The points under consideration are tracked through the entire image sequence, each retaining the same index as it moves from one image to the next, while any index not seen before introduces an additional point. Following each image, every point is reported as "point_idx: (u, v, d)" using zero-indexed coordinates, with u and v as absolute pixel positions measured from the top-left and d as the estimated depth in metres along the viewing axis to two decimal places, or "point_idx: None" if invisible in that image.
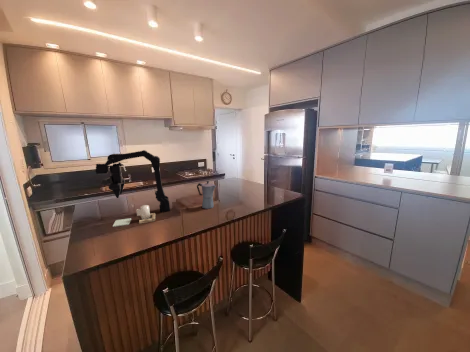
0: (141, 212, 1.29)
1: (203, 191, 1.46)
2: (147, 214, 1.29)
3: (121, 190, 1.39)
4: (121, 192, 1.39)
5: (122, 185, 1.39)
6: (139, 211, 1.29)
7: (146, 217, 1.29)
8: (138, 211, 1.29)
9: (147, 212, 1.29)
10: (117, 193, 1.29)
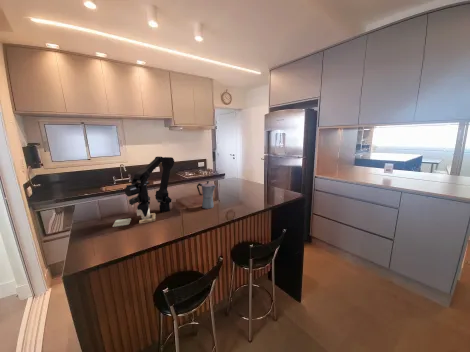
0: (141, 212, 1.29)
1: (203, 191, 1.46)
2: (147, 214, 1.29)
3: None
4: None
5: None
6: (139, 211, 1.29)
7: (146, 217, 1.29)
8: (138, 211, 1.29)
9: (147, 212, 1.29)
10: (145, 212, 1.27)
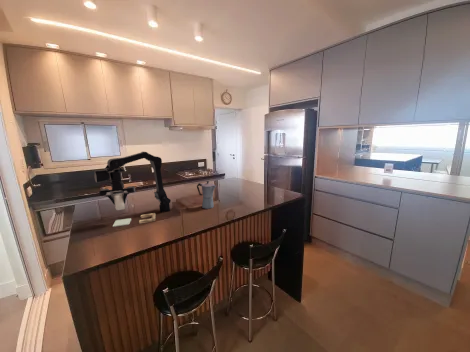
0: None
1: (203, 191, 1.46)
2: (115, 203, 1.23)
3: None
4: None
5: None
6: None
7: (115, 206, 1.24)
8: None
9: (114, 201, 1.22)
10: None
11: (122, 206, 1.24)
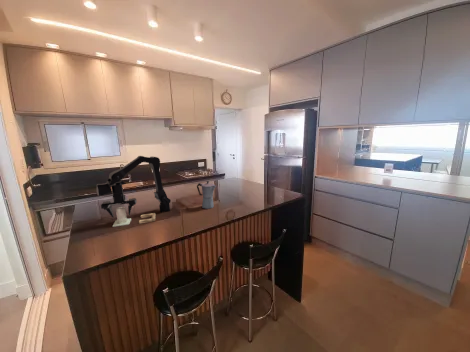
0: None
1: (203, 191, 1.46)
2: (117, 217, 1.25)
3: None
4: None
5: None
6: None
7: (117, 219, 1.26)
8: None
9: (117, 215, 1.24)
10: None
11: (124, 219, 1.26)
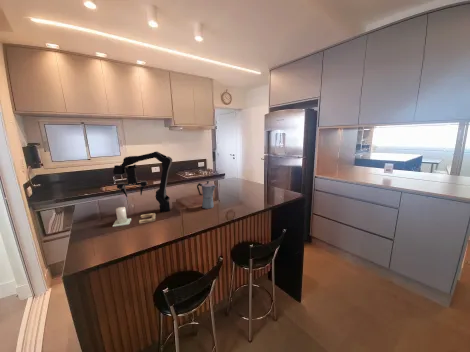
0: None
1: (203, 191, 1.46)
2: (117, 217, 1.25)
3: (140, 192, 1.43)
4: None
5: None
6: None
7: (117, 219, 1.26)
8: None
9: (117, 215, 1.24)
10: None
11: (124, 219, 1.26)
